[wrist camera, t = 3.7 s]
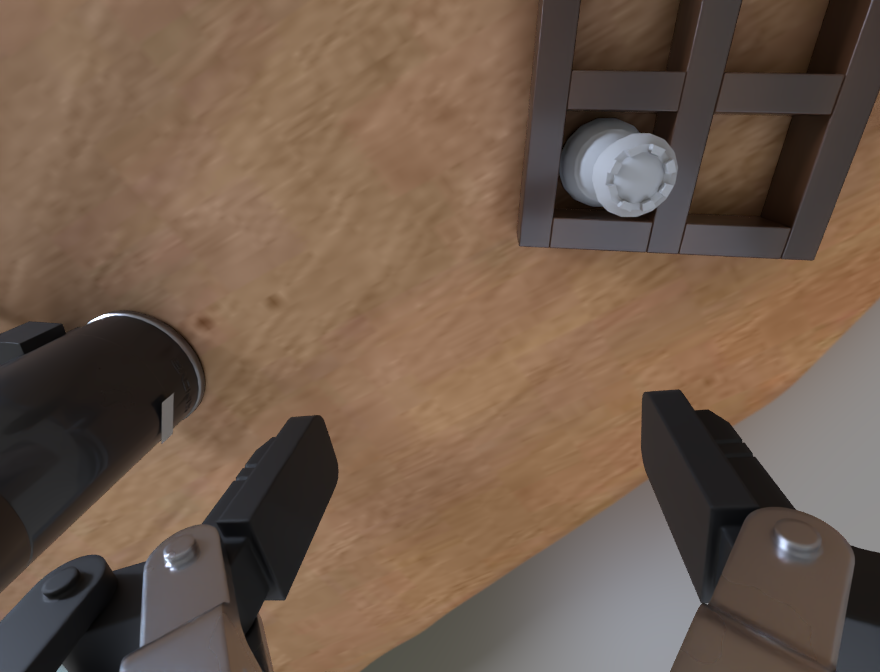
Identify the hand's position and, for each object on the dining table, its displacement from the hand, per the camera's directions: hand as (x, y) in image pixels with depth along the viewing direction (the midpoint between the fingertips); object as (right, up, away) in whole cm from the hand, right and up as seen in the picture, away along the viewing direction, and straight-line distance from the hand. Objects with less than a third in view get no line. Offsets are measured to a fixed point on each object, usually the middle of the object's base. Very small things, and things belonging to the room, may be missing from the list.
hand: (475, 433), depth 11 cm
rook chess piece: (+8, +12, +13) cm, 20 cm away
